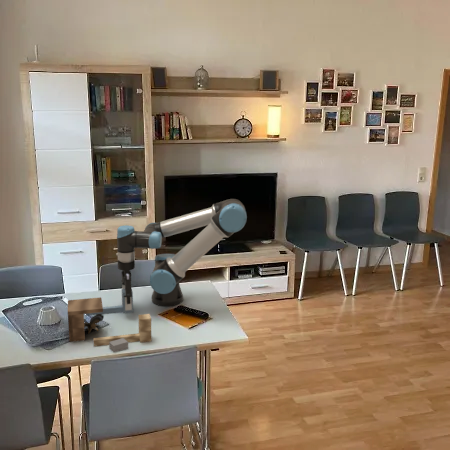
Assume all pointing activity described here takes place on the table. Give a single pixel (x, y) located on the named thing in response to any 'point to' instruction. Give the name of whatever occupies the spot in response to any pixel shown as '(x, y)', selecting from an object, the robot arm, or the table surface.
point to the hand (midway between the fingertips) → (126, 304)
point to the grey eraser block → (118, 345)
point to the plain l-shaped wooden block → (142, 336)
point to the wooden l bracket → (81, 316)
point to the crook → (114, 307)
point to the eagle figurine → (93, 322)
